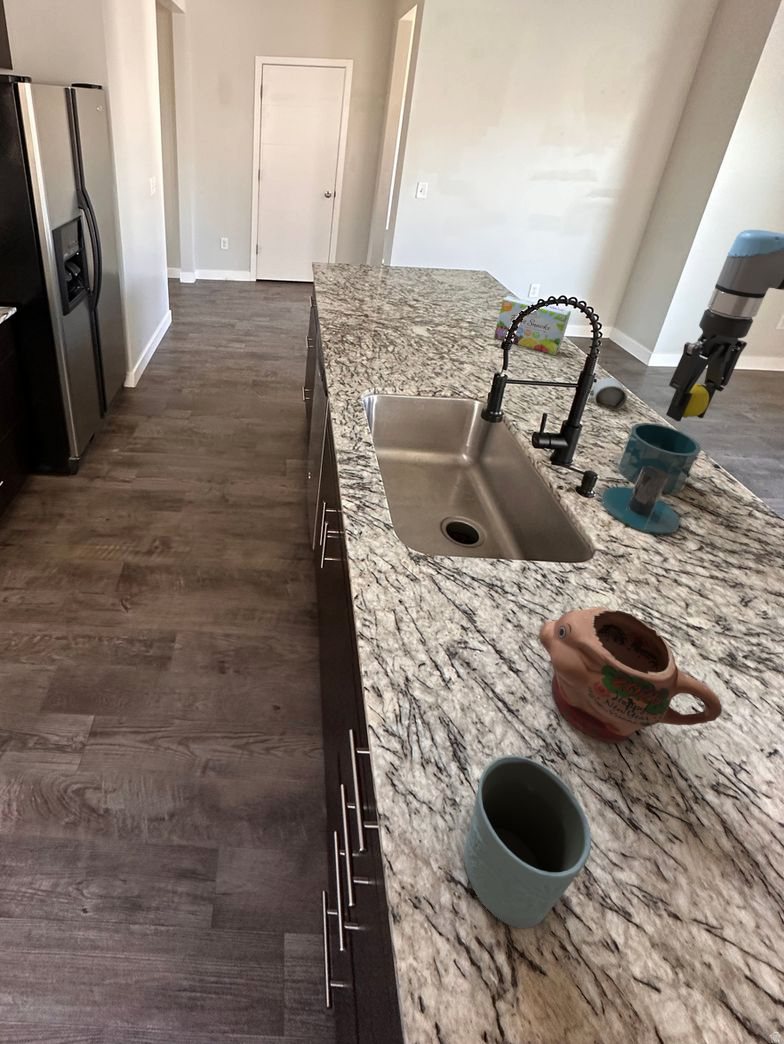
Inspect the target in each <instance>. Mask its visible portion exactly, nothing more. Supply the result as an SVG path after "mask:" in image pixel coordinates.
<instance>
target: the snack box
mask: <svg viewBox="0 0 784 1044" xmlns="http://www.w3.org/2000/svg"><path fill="white" fill-rule="evenodd" d="M534 303H537V302H535V301H531V300H527V299H523V298H519V297H515V296H510V295H506V296H505V297H504V298H502V301H501V305H500V310H499V314H498V319H497V323H496V327H495V330H494V331H495V332H494V335H493V338H494V339H498V340H501V341H504V339H505V337H506V335H507V332H508V330H509V328H510V325H511V322H512V321H513V320H514V319H515V318H516V316H517V315H518V314H519V313H520V312H521V311H522V310H524V309H525V308H526V307H528V306H530V305H532V304H534ZM571 312H572V311H571V310H568V309H564V308H560V307H556V306H552V305H548V306H547V307H544V308H541V309H538V310H536V311H534V312H533V313H531V314H529V315H527V316H526V317H525V318H524V319H523V320H522V322H521V323H520V325H519V327H518V329H517V332H516V334H515V338H514V341H513V343H512V344H515V345H519V346H522V347H525V348H529V349H532V350H535V351H538V352H542V353H545V354H550V355H552V356H556V355H557V354H558V353H559V352H560V350H561V347H562V344H563V340H564V337H565V333H566V330H567V326H568V323H569V320H570V318H571Z"/></svg>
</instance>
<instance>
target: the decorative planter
mask: <svg viewBox="0 0 784 1044" xmlns="http://www.w3.org/2000/svg"><path fill="white" fill-rule="evenodd" d="M538 639H539V642H540V645H542V647H543V648H544V649H545V650H546V652H547V654H548V655H549V658H550V662H551V666H552V669H553V671H554V674H553V676H552V679H551V684H550V685H551V686H550V689H551V690H550V691H551V696H552V699H553V702H554V704H555V706H556V708H557V709H558V710H559V712H560V713H561V714H562V716H563V717H564V719H566V720H567V722H569V723H570V724H571V725H572V726H573V727H575V728H576V729H577V730H579V731H581V732H582V733H583V734H585V735H587V736H589V737H591V738H594V739H596V740H599V741H602V742H605V743H607V744H619V743H622V742H625V741H627V740H628V739H629V738H630V736H632V734H634V732H637V731H640V730H643V729H645V728H646V729H647V728H650V727H652V726H655V725H657V724H663V725H664V724H665V725H672V726H694V725H698V724H706V723H708V722H715V721H716V720H717V719H718V718H719V717H720V716H721V714H722V712H723V708H722V703H721V700H720V699H719V697H718V695H717V694H716V693H715V692H714V691H713V690H712V689H711V688H709V687H708V686H707V685H705V684H704V683H703V682H701V681H699V680H697V679H695V678H694V677H692V676H690V675H689V674H687V673H685V672H683V671H682V670H681V669H679V667H678V666H677V664H676V660H675V655H674V652H673V651H672V648H671V647H670V644H669V643H668V642H667V641H666V639H665V638H664V637H663V636H662V635H661V634H660V633H659V632H658V631H657V630H656V629H654V628H653V627H651V626H650V625H649V624H648V623H646V622H644V621H643V620H642V619H640V618H638V617H636V616H635V615H633V614H632V613H628V612H625V611H621V610H616V609H611V608H606V607H603V606H595V607H591V608H587V609H573V610H572V609H571V610H570V611H567V612H565V613H563V614H562V615H560V617H559V618H558V619H555V620H550V621H547V622H545V623H544V624H543V625H542V626H541V627H540V630H539V633H538ZM679 694H687V695H691V696H693V697H695V698H697V699H698V700H700V701H701V702H702V704H703V705H704V710H703V711H700V712H696V713H688V714H686V713H685V714H683V713H680V712H678V711H677V710H675V709H673V708H672V707H671V706H670V705H671V702H672V699H673V698H675V697H676V696H677V695H679Z"/></svg>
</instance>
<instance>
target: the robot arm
mask: <svg viewBox="0 0 784 1044" xmlns="http://www.w3.org/2000/svg"><path fill="white" fill-rule="evenodd" d="M769 289H775V290H782V291H784V233H781V232H775V231H771V230H762V229H746V230H743V231H740V232H739V233H738V234H737V235H736V237H735V240H734V242H733V243H732V246H731V248H730V250H729V251H728V252H727V256H726V258H725V261H724V262H723V266H722V268H721V270H720V274H719V276H718V278H717V280H716V283H715V286H714V289H713V290H712V292H711V296H710V298H709V300H708V303H707V309H705V310H704V312H703V314H702V316H701V319H700V321H699V324H698V327H699V328H700V329H701V330H702V333H701V335H700V336H699V337H698V339H697V341H696V342H693V343H691V342H689V341H688V342H685V343H684V345H683V351H682V354H681V357H680V360H679V361H678V364H677V366H676V367H675V370H674V372H673V375H672V377H671V379H670V380H669V383H668V386H669V387H670V388H673V389H674V391H675V392H674V394H673V396H672V398H671V401H670V404H669V406H668V408H667V411H666V412H665V413H666V414H665V415H666V416H667V417H669V418H670V419H672V420H674V421H676V422H681V421H682V418H683V417H682V416H683V414H684V412H685V410H686V407H687V405H688V403H689V400H690V398H691V396H692V393H690V391H691V389H692V388H693V386H694V385H695V384H697V382H698V380H699V379H700V377H701V376H702V374H703V373H704V371H705V370H706V372H705V377H704V384H700V385H701V386H702V387H704V388H705V389H706V390H707V392H708V394H709V402H708V405H707V408H706V409H705V411H704V412H703V413H701V414H700V415H698V416H696V417H697V418H699V419H703V418H704V417H705V415H706V412H707V410H708V408H709V406H710V404H711V402H712V399H713V398H714V395H715V393H716V391H718V392H719V393H720V392H723V390H725V388H724V387H727V385H728V384H729V381H730V380H731V377H732V375H733V373H734V371H735V368H736V366H737V363H738V362H739V359H740V356H741V354H742V352H743V351H744V350H745V348H746V347H747V345H748V343H747V342H746V341H744V340H741V339H743V338H746V337H747V336H748V334H749V331H750V329H751V327H752V325H753V323H754V319H753V318H754V317H757V315H758V312H759V310H760V308H761V306H762V304H763V301H764V299H765V296H766V294H767V292H768V291H769Z"/></svg>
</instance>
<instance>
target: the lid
mask: <svg viewBox="0 0 784 1044" xmlns="http://www.w3.org/2000/svg"><path fill="white" fill-rule="evenodd" d="M667 479H668V475H667V474H666V473H665V472H664V471H662V470H660V469H658V468H655V467H651V466H644V467H643V468H642V470H641V472H640V474H639V477H638V479H637V482H636V484H634V487H633V488H630V487H625V486H624V487H623V486H615V487H610V488H607V489H606V490H604V491H603V493H602V495H601V497H600V499H601V500H600V501H601V504H602V506H603V508H604V510H606V512H607V513H608V514H610V515H611V516H612V517H613V518H614V519H616V520H617V521H618V522H620V523H621V524H624V525H625V526H627V527H630V528H632V529H634V530H637V531H640V532H643V533H646V534H651V535H661V536H663V535H671V534H673V533H674V532H676V531H678V529H679V527H680V518H679V515H677V513H676V512H675V510H673V508H671V506H669V505H668V504H667V503H665V502H664V501H663V500H661V499H660V497H661V495H662V494H663V493H662V491H663V488H664V486H665V484H666V482H667Z"/></svg>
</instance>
